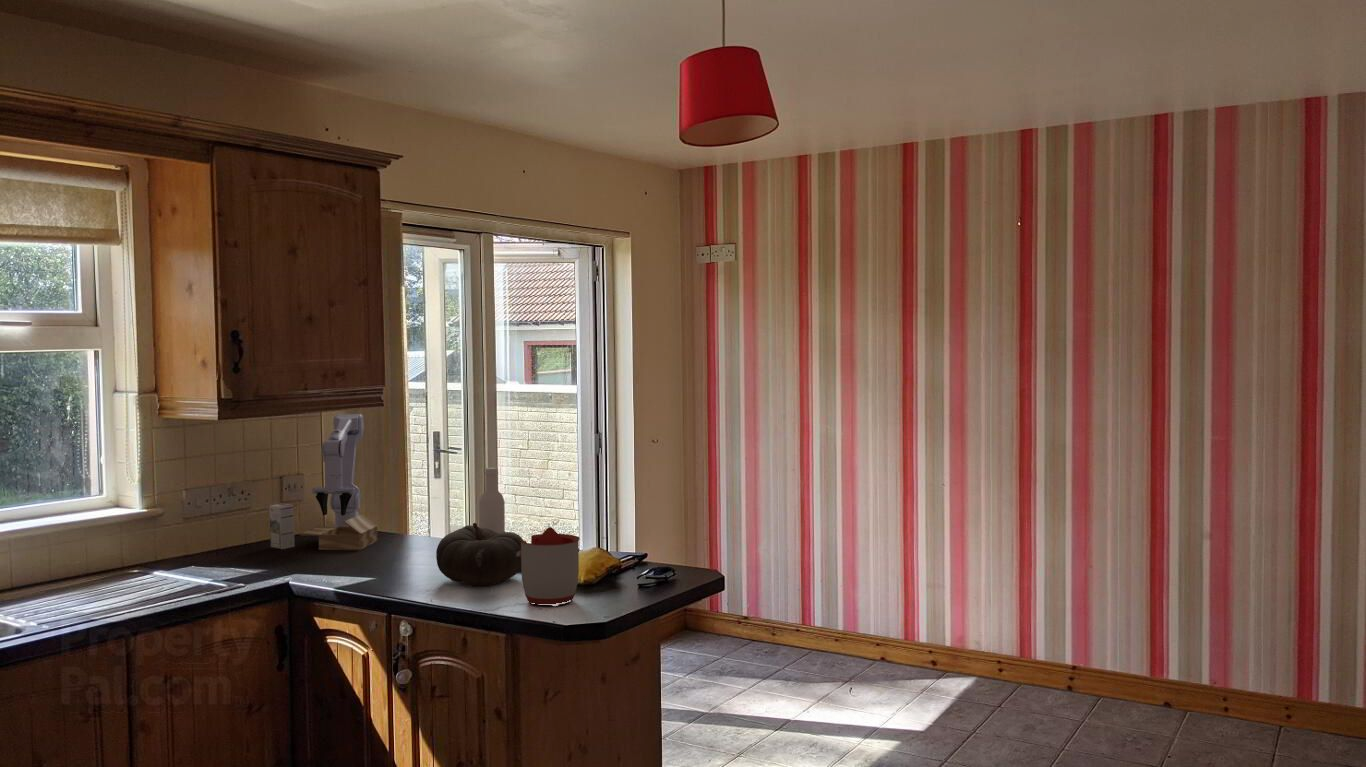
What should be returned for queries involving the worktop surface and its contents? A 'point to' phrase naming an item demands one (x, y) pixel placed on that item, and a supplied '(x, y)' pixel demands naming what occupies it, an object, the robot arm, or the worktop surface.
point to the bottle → (492, 504)
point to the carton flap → (360, 524)
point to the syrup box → (282, 526)
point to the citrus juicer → (550, 567)
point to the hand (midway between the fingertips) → (334, 514)
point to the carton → (342, 538)
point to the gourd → (479, 555)
